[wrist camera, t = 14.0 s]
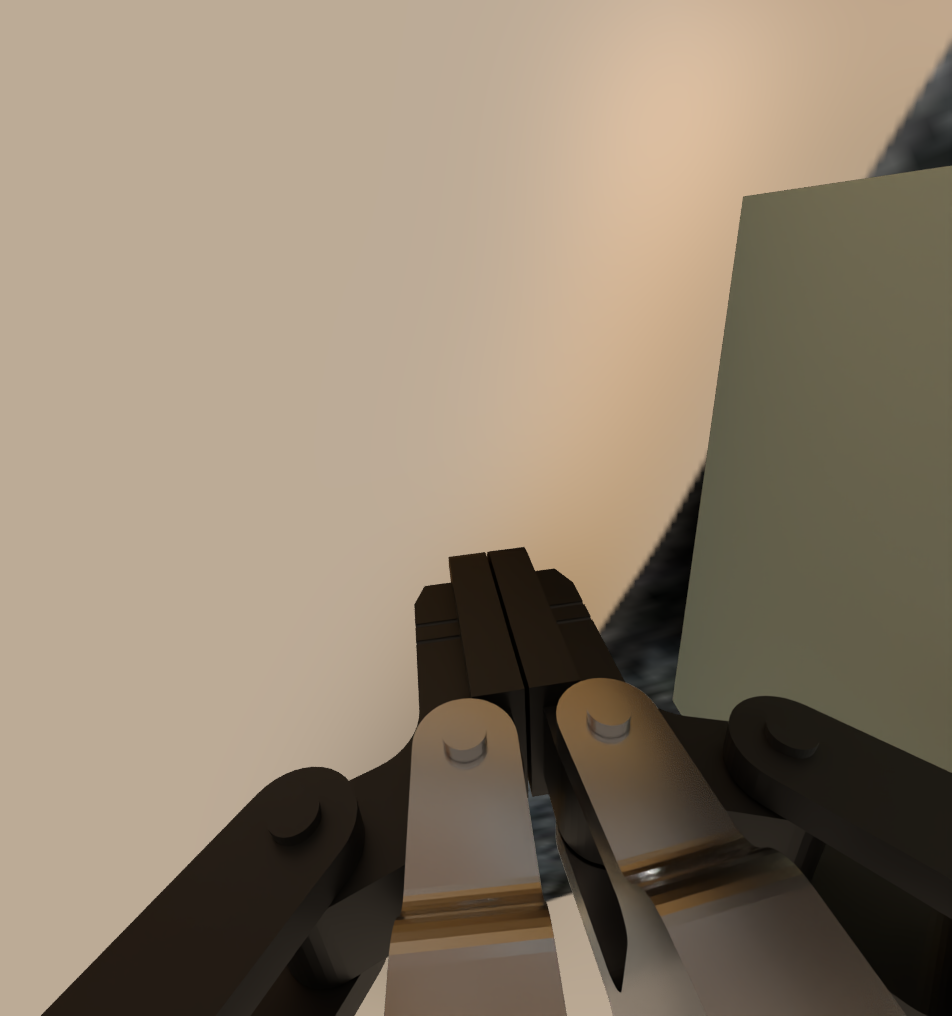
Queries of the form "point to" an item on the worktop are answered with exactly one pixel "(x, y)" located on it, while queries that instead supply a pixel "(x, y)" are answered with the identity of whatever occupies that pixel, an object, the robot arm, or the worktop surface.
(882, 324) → the drawer
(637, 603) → the worktop surface
